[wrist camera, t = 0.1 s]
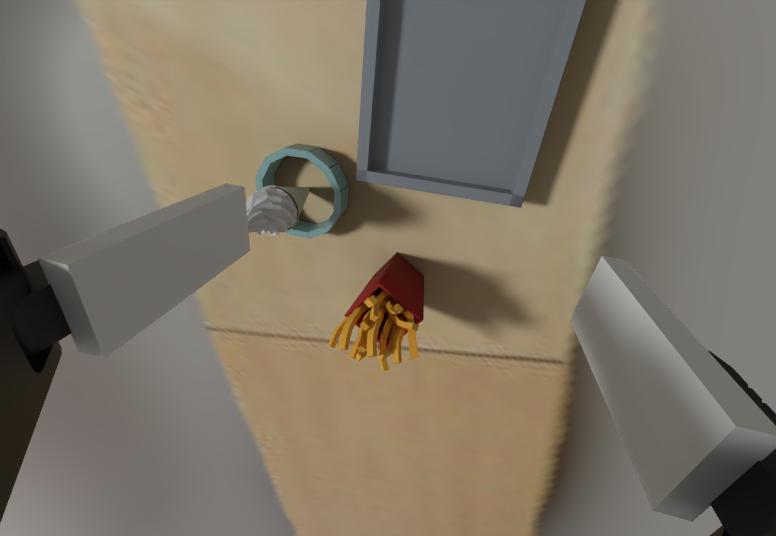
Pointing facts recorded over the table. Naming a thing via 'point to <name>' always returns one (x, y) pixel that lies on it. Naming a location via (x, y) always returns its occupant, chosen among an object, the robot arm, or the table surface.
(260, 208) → the soft serve swirl
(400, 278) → the french fries
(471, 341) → the table surface
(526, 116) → the tray
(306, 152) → the teal ring
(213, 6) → the table surface
